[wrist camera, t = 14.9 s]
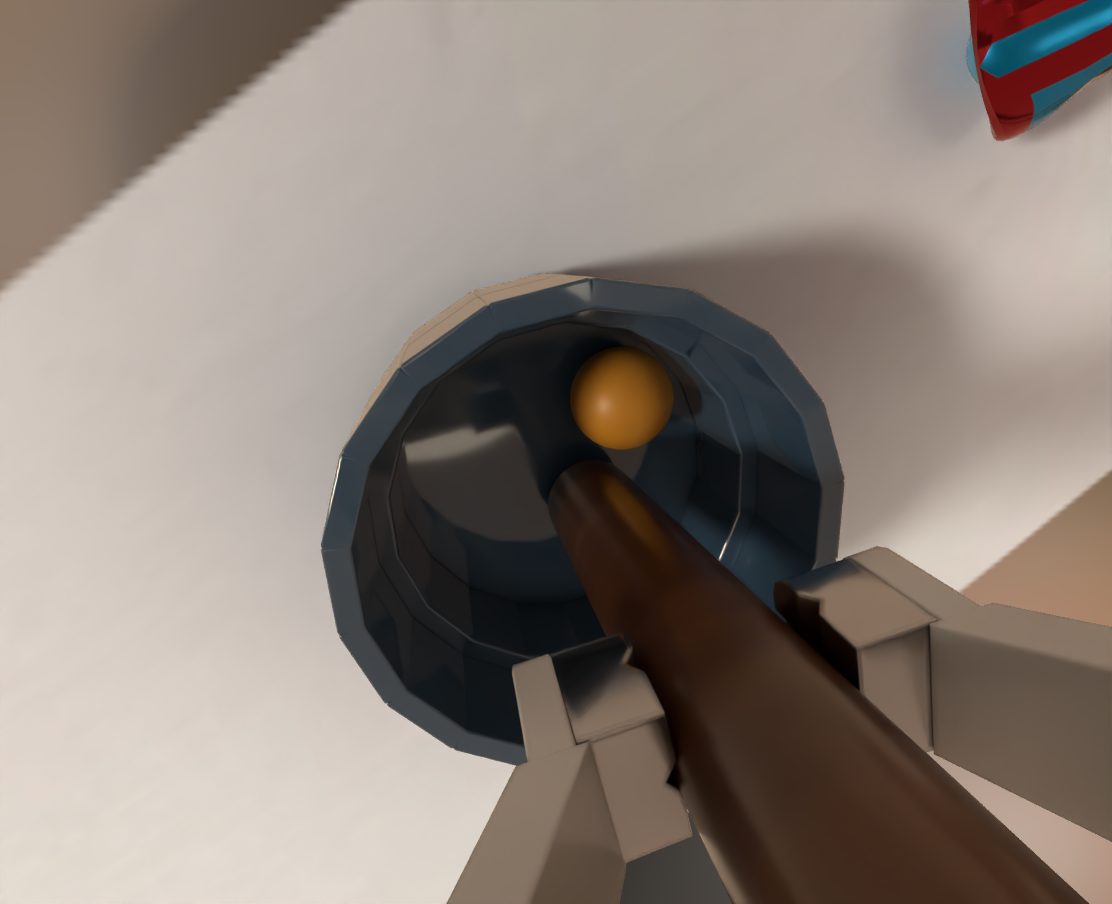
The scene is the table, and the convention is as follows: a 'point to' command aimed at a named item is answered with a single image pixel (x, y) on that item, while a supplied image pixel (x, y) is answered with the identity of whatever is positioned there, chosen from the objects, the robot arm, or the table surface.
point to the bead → (621, 398)
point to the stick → (779, 730)
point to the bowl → (531, 470)
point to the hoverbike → (1036, 56)
